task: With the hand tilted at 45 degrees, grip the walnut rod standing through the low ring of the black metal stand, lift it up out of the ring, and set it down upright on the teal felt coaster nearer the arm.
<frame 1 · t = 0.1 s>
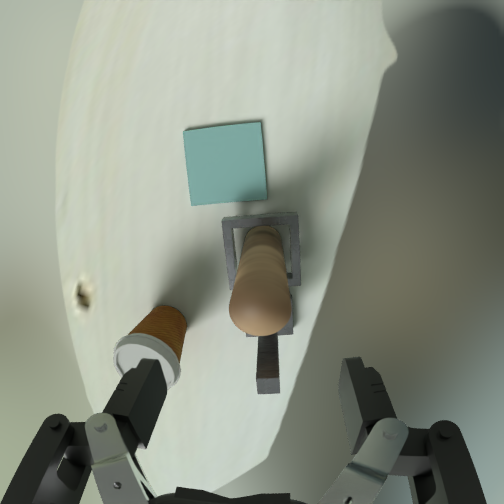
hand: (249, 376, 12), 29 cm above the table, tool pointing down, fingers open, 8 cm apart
walnut rod: (263, 243, 41), on the table
ring stand: (263, 243, 41), on the table
disposable coffee cup: (168, 321, 46), on the table
felt coaster: (225, 164, 37), on the table
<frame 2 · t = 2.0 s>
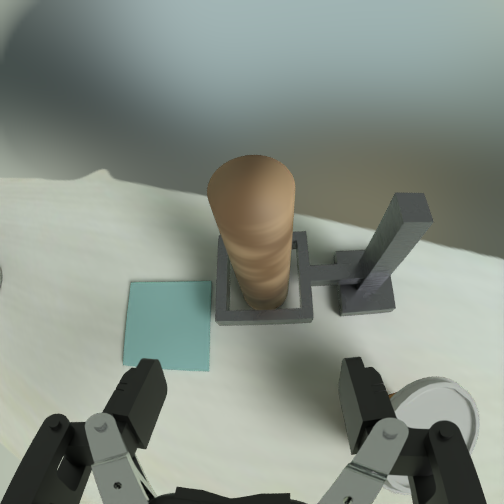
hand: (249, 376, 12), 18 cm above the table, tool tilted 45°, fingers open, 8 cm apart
walnut rod: (265, 289, 33), on the table
ring stand: (265, 289, 33), on the table
disposable coffee cup: (381, 424, 25), on the table
felt coaster: (166, 325, 32), on the table
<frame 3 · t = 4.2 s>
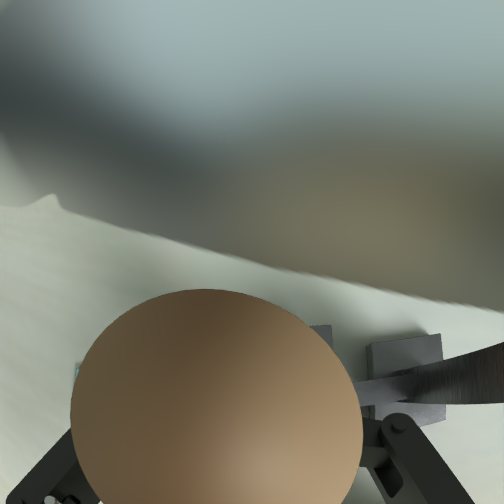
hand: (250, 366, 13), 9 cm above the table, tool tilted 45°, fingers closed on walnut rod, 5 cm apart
walnut rod: (261, 397, 20), on the table, touching gripper
ring stand: (262, 397, 20), on the table
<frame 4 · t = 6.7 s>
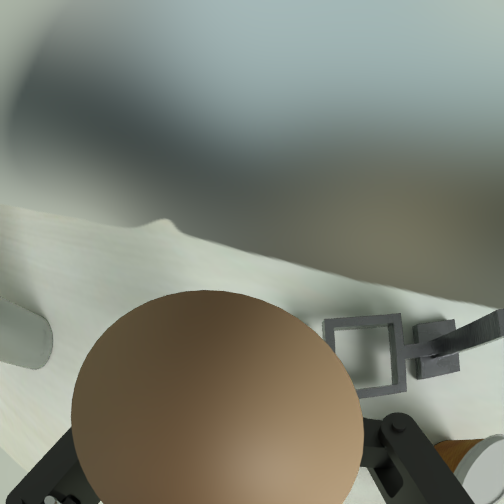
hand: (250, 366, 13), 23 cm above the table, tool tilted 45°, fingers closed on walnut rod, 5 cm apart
walnut rod: (261, 398, 20), point 14 cm above the table, touching gripper
ring stand: (357, 360, 33), on the table
disposable coffee cup: (440, 461, 25), on the table
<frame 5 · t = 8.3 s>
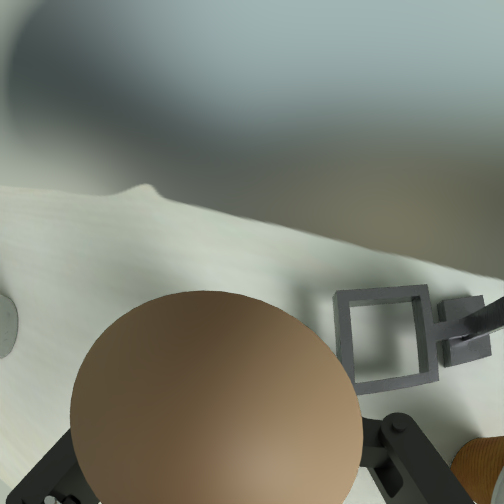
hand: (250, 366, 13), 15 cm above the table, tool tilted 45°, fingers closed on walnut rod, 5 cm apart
walnut rod: (261, 398, 20), point 6 cm above the table, touching gripper
ring stand: (375, 345, 27), on the table
disposable coffee cup: (470, 463, 19), on the table
when the fingers open (11 cm above the table, at t = 9.6 s): walnut rod drops 1 cm, resting on felt coaster.
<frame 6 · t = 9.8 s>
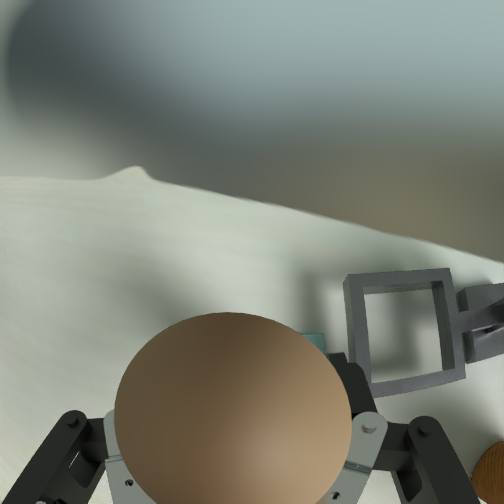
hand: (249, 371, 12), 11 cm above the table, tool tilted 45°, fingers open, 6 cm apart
walnut rod: (261, 399, 21), point 1 cm above the table, touching felt coaster
ring stand: (391, 339, 23), on the table
disposable coffee cup: (492, 469, 15), on the table
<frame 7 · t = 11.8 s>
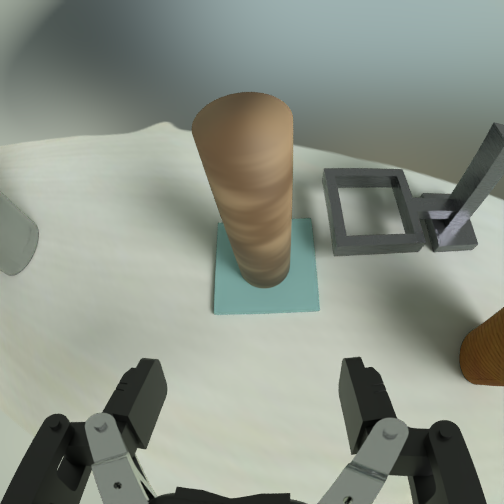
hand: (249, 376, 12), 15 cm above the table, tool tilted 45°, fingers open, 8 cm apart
walnut rod: (264, 264, 30), point 1 cm above the table, touching felt coaster
ring stand: (364, 226, 31), on the table
disposable coffee cup: (479, 356, 23), on the table
felt coaster: (265, 265, 30), on the table
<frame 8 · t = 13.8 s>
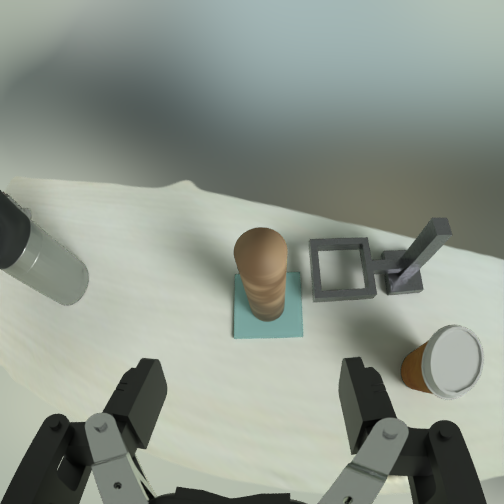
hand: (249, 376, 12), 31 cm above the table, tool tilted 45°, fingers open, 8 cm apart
walnut rod: (267, 305, 44), point 1 cm above the table, touching felt coaster
ring stand: (337, 277, 46), on the table
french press: (16, 225, 58), on the table
disposable coffee cup: (417, 369, 38), on the table
felt coaster: (268, 305, 45), on the table
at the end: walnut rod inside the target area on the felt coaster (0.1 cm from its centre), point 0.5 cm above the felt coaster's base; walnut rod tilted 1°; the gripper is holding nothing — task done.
